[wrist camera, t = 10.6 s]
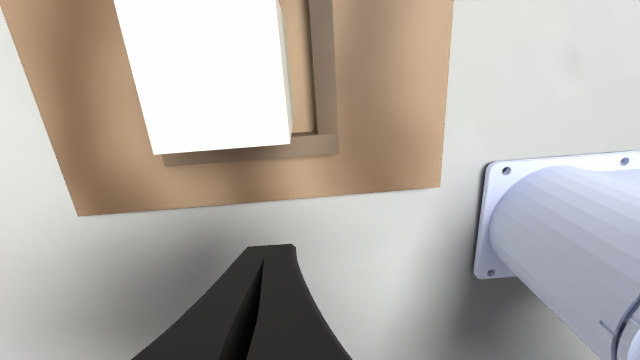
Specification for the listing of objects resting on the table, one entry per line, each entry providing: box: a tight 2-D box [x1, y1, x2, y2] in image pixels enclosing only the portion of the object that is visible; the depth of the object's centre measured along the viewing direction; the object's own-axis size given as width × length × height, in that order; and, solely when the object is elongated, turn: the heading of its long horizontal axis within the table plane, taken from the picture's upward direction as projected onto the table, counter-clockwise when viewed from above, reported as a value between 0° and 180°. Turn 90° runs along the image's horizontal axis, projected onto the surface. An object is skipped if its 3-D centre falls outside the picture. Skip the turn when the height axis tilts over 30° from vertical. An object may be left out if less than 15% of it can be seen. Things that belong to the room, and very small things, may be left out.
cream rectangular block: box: [114, 0, 294, 155], centre depth 12 cm, size 4×4×6 cm
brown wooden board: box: [0, 0, 454, 216], centre depth 15 cm, size 20×14×2 cm
